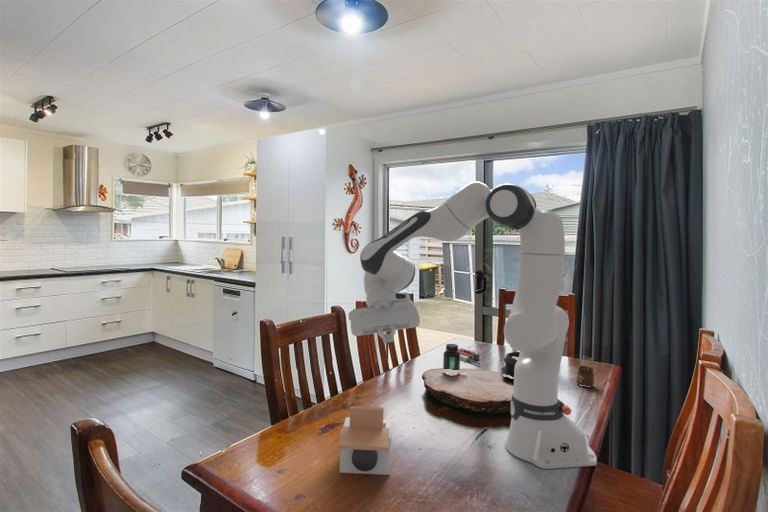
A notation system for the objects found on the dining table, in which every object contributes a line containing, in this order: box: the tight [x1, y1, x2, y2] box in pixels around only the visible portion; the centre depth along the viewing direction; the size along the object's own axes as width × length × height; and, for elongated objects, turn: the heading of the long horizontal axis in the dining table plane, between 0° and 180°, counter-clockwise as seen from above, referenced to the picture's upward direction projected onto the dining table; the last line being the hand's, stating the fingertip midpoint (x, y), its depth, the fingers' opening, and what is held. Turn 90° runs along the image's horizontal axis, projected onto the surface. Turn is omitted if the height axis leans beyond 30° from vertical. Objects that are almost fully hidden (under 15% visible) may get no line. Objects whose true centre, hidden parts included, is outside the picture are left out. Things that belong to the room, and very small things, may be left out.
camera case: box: [339, 416, 393, 476], centre depth 103 cm, size 12×12×9 cm
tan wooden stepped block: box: [337, 405, 390, 451], centre depth 96 cm, size 11×9×6 cm
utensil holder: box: [576, 356, 595, 386], centre depth 161 cm, size 6×6×12 cm
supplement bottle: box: [442, 343, 461, 370], centre depth 172 cm, size 7×7×12 cm
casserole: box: [501, 351, 520, 377], centre depth 171 cm, size 25×19×8 cm
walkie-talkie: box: [458, 347, 481, 366], centre depth 193 cm, size 9×4×20 cm
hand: (388, 340), depth 116 cm, fingers closed
